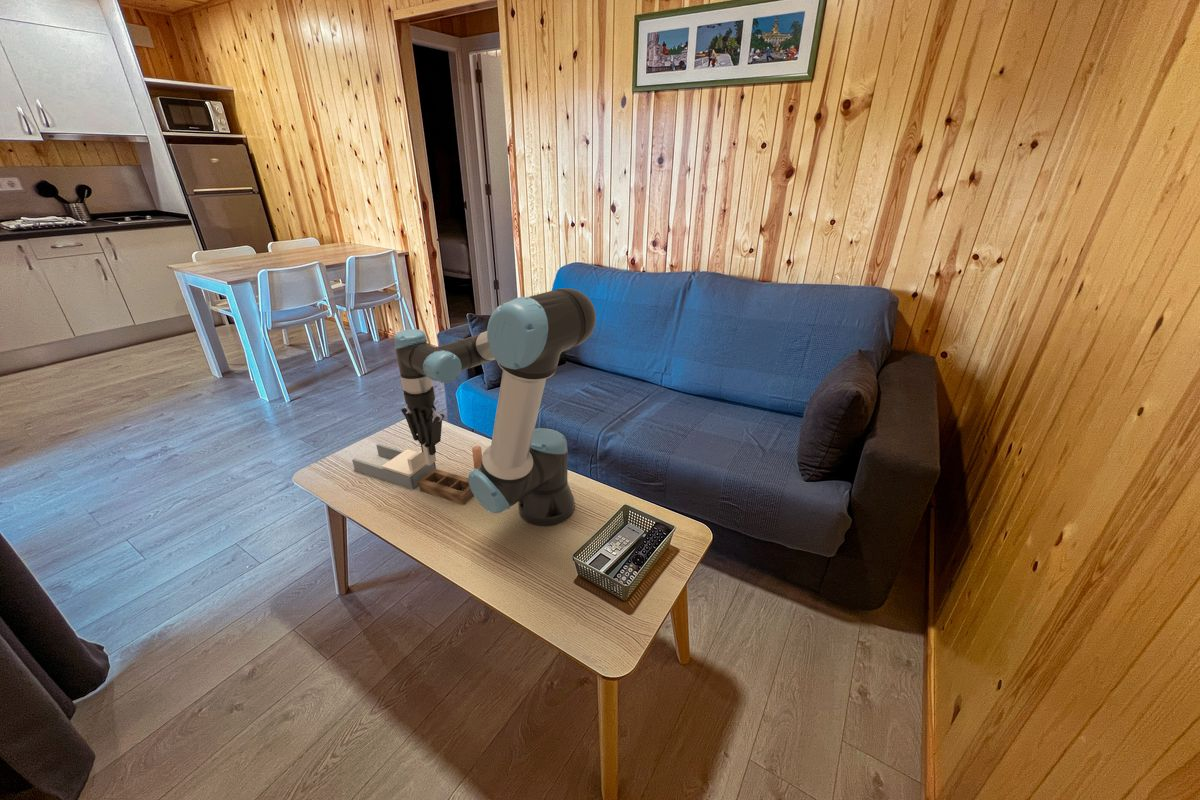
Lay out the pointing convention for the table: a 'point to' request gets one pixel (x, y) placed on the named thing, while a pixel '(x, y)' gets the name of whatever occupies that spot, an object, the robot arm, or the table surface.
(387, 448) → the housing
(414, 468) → the lid
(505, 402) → the robot arm
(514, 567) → the table surface
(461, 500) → the wooden compartment rack
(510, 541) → the table surface
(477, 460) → the pin
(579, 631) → the table surface
